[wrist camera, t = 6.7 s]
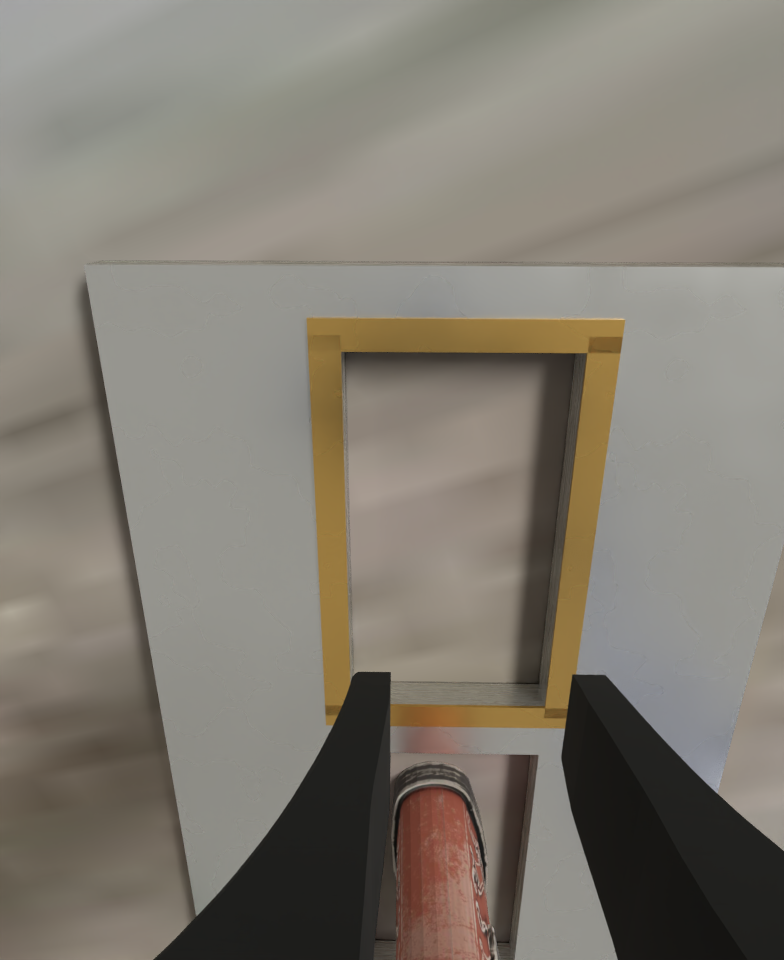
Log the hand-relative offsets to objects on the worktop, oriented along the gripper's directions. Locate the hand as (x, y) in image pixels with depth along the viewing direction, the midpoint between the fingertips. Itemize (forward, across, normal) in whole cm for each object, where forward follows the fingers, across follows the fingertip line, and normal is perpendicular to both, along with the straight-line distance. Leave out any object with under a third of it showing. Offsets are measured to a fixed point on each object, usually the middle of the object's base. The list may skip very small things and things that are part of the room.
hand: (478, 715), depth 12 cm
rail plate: (+7, 0, +6) cm, 10 cm away
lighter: (+8, 0, +13) cm, 15 cm away
